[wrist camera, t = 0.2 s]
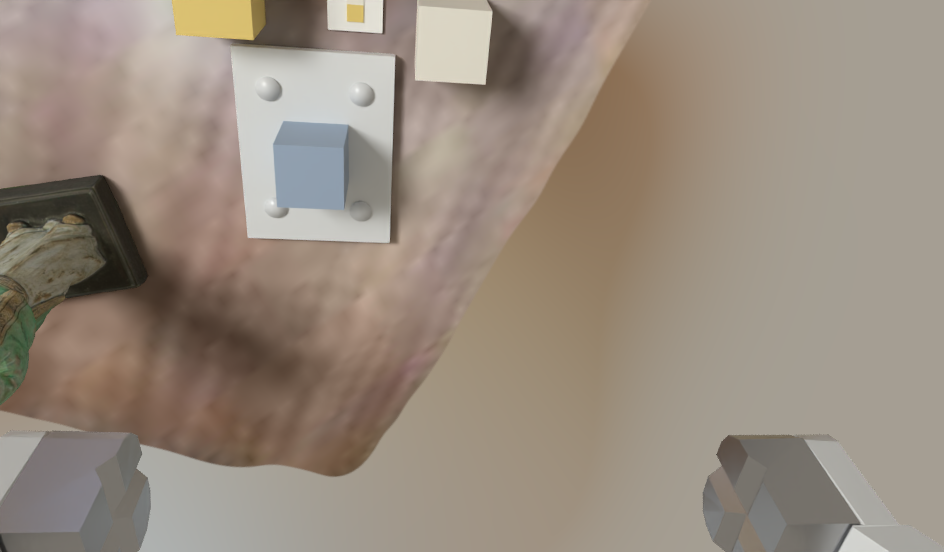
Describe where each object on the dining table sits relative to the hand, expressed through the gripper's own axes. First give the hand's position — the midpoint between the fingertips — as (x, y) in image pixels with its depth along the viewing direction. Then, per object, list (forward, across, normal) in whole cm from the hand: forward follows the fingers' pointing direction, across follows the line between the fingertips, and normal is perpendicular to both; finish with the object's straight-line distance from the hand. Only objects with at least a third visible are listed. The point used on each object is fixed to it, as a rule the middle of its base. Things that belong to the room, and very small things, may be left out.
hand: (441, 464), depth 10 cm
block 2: (+46, +7, +14) cm, 49 cm away
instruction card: (+47, +4, +2) cm, 47 cm away
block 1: (+47, +13, +2) cm, 49 cm away
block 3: (+47, -3, +4) cm, 48 cm away
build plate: (+47, +7, +14) cm, 50 cm away
